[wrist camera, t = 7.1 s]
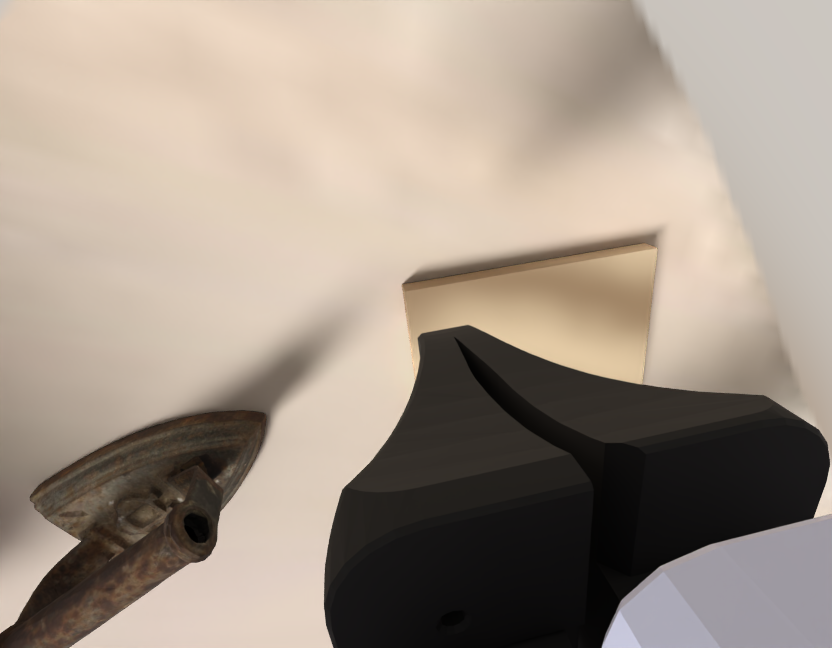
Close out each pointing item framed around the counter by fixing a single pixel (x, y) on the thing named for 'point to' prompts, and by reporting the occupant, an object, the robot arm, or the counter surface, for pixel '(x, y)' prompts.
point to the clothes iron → (134, 520)
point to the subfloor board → (550, 308)
